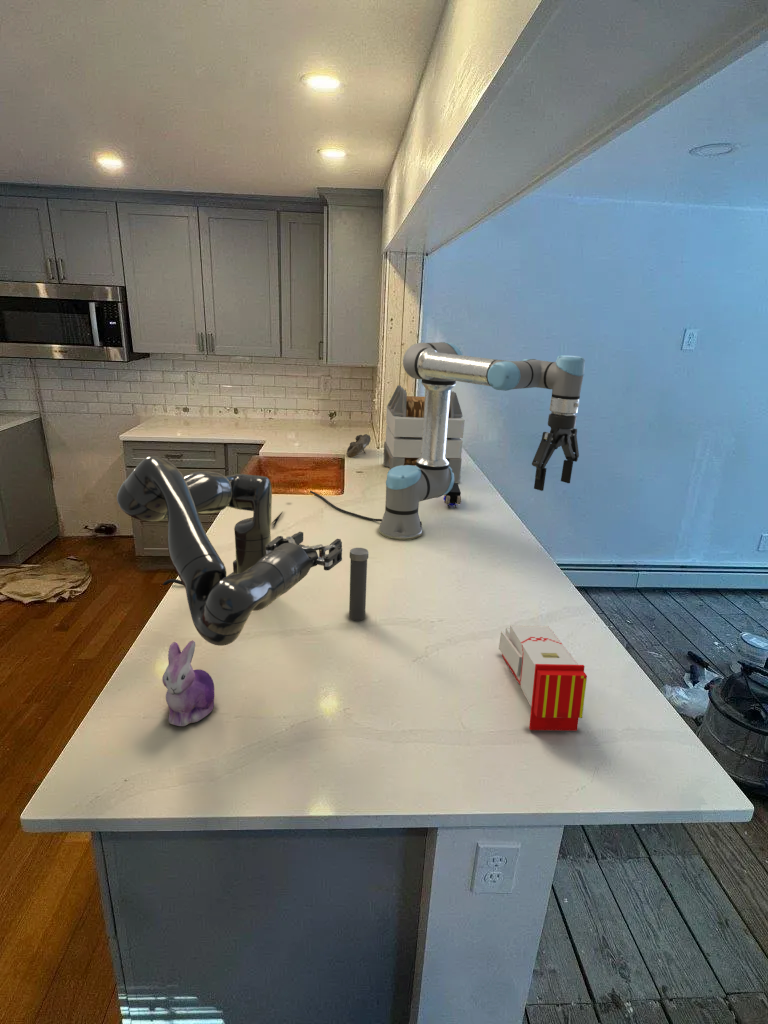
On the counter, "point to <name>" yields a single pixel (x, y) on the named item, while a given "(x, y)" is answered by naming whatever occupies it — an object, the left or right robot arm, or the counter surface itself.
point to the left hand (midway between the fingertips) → (320, 539)
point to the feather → (276, 520)
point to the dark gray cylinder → (357, 590)
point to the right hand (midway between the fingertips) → (552, 485)
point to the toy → (545, 676)
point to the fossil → (358, 445)
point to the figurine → (187, 687)
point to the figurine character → (453, 496)
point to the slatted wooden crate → (419, 431)
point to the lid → (358, 554)
